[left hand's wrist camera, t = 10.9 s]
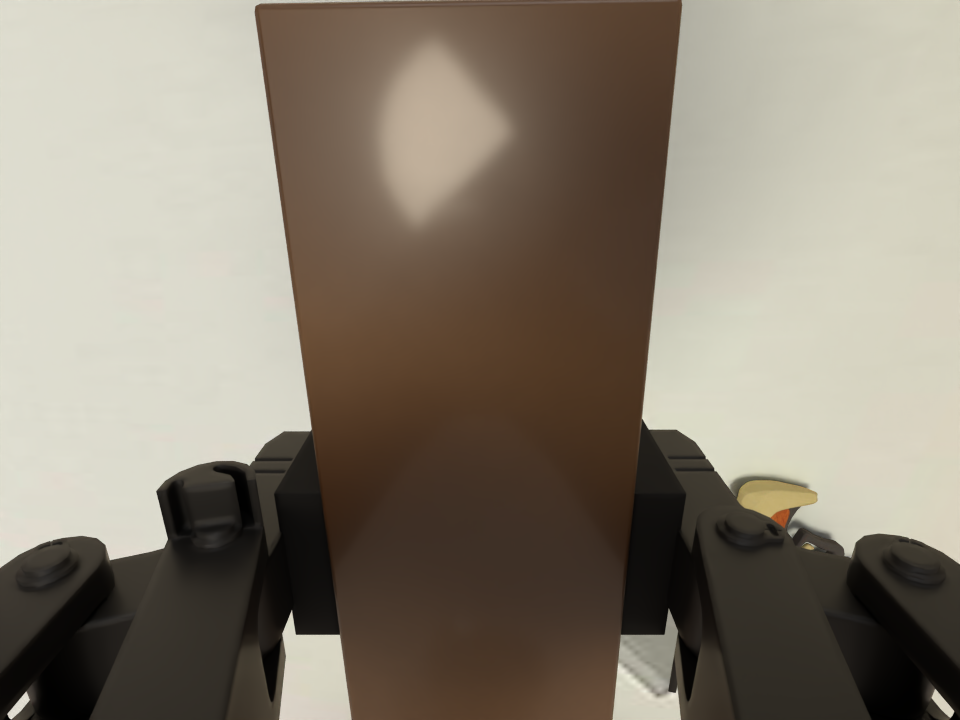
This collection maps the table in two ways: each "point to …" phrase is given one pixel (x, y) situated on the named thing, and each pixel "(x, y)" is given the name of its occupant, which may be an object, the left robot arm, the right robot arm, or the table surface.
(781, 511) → the toy gun
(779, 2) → the table surface
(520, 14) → the beam
